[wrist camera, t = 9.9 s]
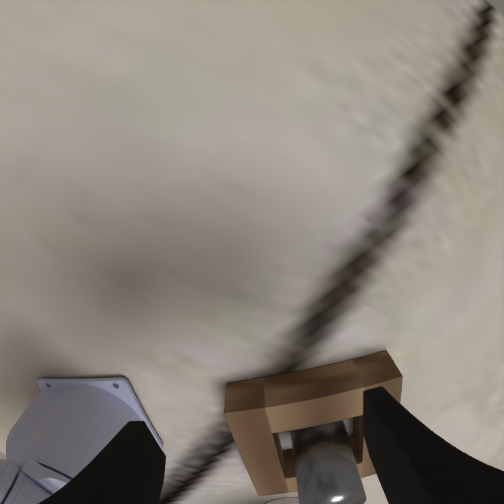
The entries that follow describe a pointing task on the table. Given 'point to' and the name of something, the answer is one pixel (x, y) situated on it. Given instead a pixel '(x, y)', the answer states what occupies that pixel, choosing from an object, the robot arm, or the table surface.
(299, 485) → the round peg
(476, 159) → the table surface
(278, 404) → the square wooden ring
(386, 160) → the table surface
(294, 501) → the foam cup
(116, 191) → the table surface
